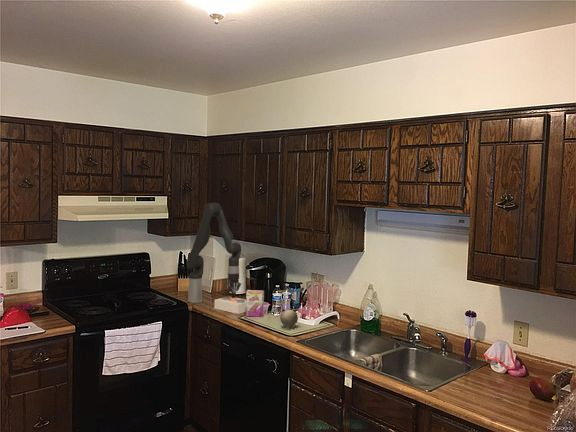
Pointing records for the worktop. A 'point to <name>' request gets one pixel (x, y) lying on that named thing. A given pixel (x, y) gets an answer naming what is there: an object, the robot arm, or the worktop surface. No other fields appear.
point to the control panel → (230, 305)
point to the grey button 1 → (225, 298)
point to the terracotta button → (233, 299)
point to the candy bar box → (254, 303)
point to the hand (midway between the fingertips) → (233, 297)
